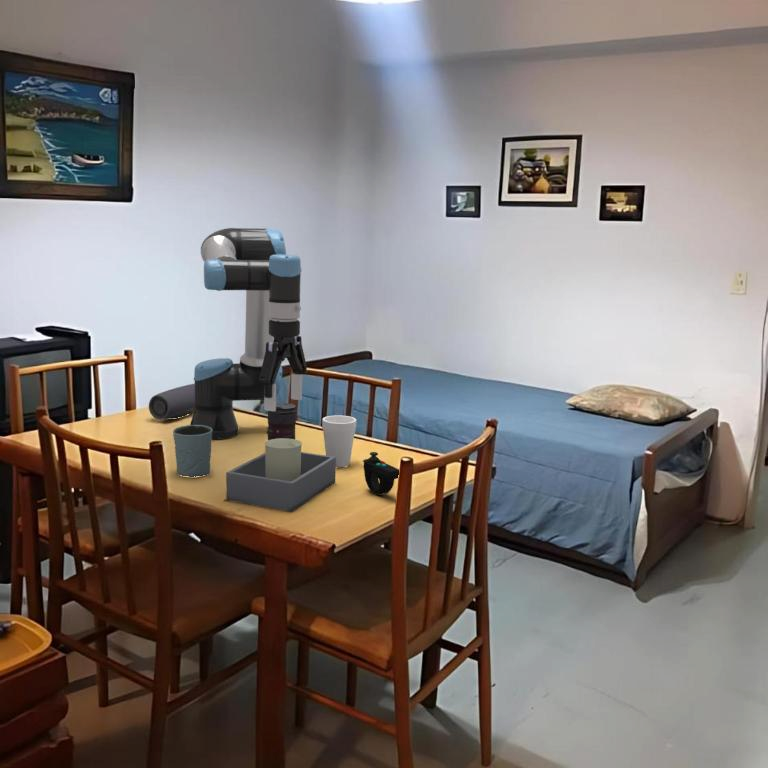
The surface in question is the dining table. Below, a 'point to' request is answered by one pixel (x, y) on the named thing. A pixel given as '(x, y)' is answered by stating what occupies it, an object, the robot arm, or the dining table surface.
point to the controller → (379, 474)
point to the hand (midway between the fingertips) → (283, 404)
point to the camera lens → (282, 421)
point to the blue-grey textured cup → (193, 449)
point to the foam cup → (339, 437)
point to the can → (283, 459)
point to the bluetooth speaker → (173, 402)
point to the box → (280, 483)
